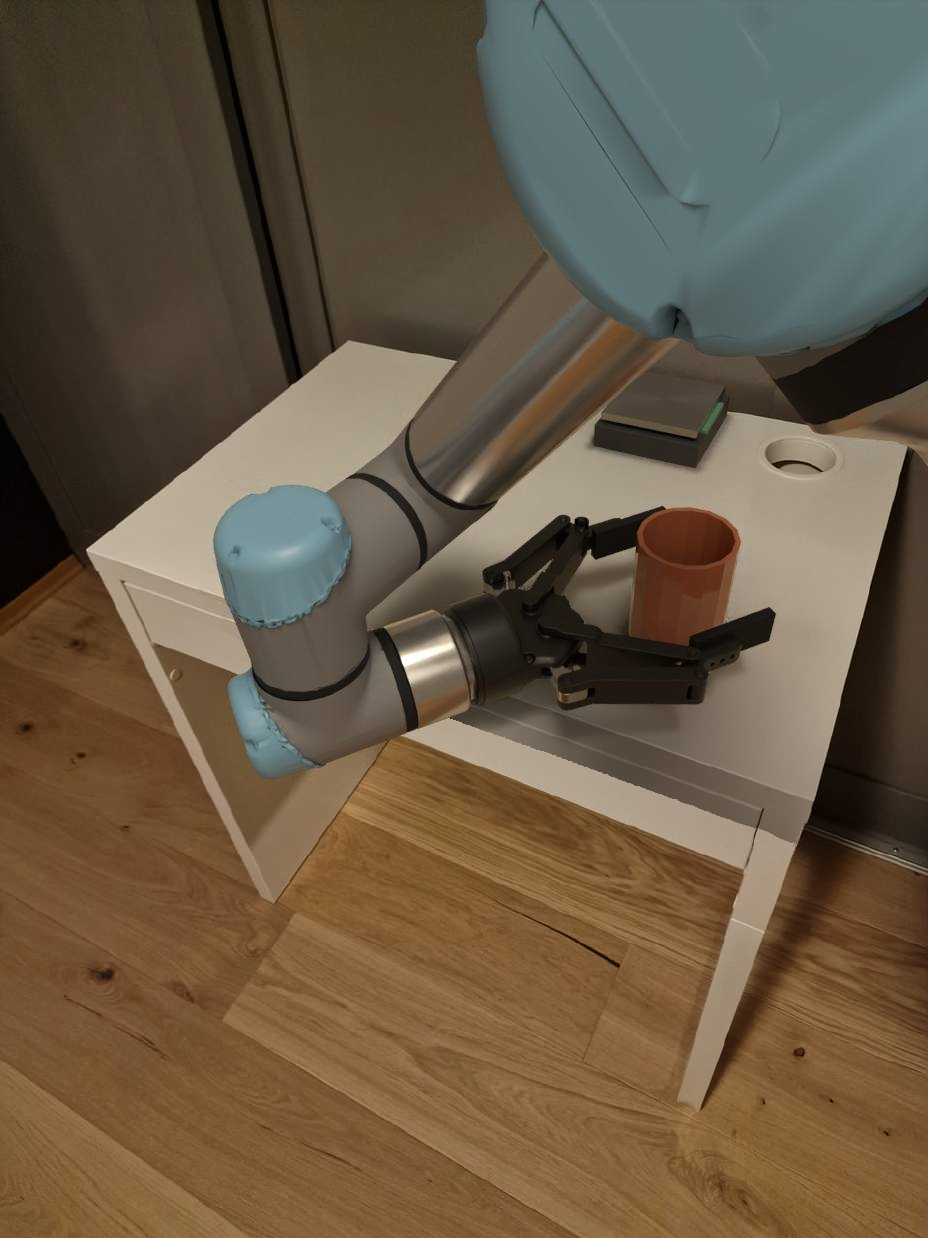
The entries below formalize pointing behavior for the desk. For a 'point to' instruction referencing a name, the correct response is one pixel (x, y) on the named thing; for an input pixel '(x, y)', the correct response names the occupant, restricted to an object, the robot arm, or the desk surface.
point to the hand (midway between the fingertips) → (713, 568)
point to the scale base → (661, 439)
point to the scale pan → (665, 404)
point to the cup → (682, 574)
